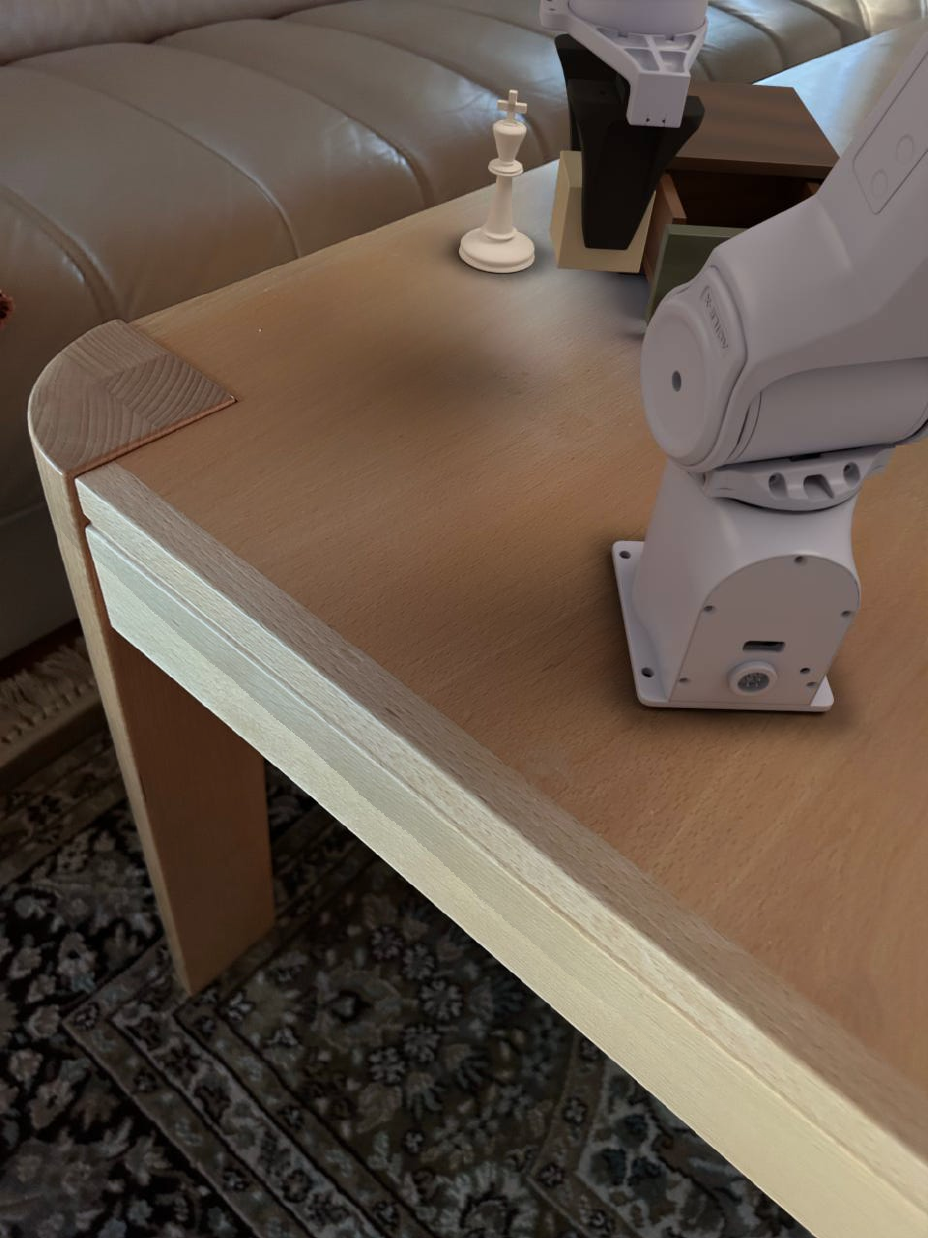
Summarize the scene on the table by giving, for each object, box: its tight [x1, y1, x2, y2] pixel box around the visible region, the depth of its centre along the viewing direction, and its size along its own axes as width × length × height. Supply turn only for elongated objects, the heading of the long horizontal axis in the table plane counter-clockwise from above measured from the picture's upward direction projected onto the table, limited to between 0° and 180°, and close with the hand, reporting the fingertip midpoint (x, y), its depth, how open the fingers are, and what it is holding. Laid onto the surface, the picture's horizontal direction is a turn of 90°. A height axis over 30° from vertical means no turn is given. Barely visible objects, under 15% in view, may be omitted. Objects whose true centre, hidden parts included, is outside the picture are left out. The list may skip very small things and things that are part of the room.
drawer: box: [641, 169, 821, 328], centre depth 60 cm, size 17×11×6 cm
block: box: [549, 150, 656, 273], centre depth 49 cm, size 4×4×4 cm
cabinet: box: [616, 79, 841, 275], centre depth 68 cm, size 13×13×8 cm
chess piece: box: [458, 89, 536, 274], centre depth 63 cm, size 5×5×10 cm
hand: (599, 223), depth 49 cm, fingers closed on block, 4 cm apart
